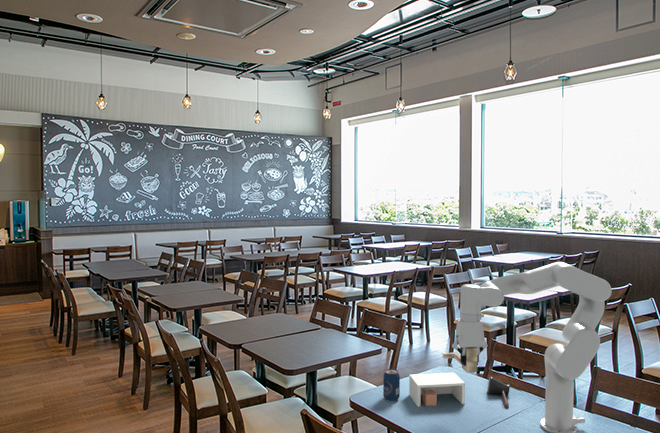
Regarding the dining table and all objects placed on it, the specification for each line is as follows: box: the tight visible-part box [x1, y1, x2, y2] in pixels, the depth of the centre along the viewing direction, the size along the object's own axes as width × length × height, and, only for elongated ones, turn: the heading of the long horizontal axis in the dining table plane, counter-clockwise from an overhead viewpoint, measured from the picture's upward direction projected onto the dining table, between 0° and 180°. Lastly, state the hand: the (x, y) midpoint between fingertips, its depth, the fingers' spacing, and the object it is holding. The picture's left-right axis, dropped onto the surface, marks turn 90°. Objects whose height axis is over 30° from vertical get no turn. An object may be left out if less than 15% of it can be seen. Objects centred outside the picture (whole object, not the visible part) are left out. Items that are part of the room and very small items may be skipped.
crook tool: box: [442, 347, 478, 373], centre depth 190 cm, size 7×17×9 cm, turn 7°
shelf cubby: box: [408, 371, 466, 408], centre depth 206 cm, size 20×12×9 cm, turn 97°
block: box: [422, 390, 438, 406], centre depth 203 cm, size 4×4×4 cm
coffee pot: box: [486, 375, 511, 409], centre depth 207 cm, size 8×18×8 cm
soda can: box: [382, 368, 401, 402], centre depth 206 cm, size 7×7×12 cm
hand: (469, 363), depth 184 cm, fingers closed on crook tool, 4 cm apart
